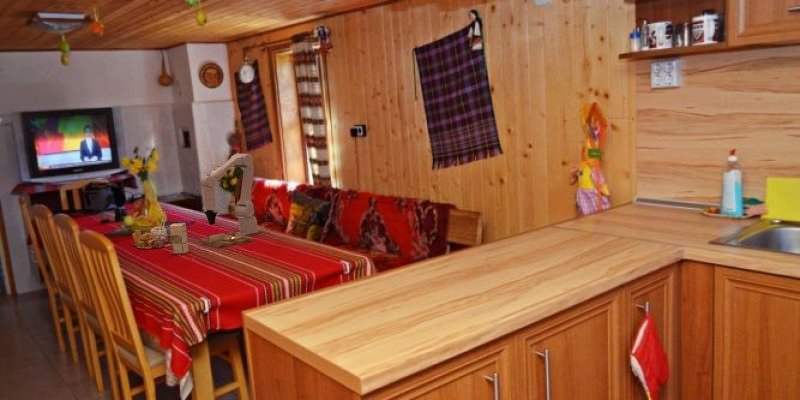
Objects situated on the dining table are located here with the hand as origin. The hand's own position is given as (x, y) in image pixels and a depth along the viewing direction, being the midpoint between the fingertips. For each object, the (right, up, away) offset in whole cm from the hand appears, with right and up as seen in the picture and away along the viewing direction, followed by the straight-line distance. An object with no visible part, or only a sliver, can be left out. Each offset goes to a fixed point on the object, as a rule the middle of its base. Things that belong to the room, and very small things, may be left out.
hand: (212, 224), depth 326 cm
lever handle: (+8, -8, -2) cm, 11 cm away
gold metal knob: (+11, -9, -6) cm, 15 cm away
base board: (+8, -9, +1) cm, 12 cm away
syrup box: (-10, -13, -18) cm, 25 cm away
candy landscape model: (-29, -11, +4) cm, 31 cm away
